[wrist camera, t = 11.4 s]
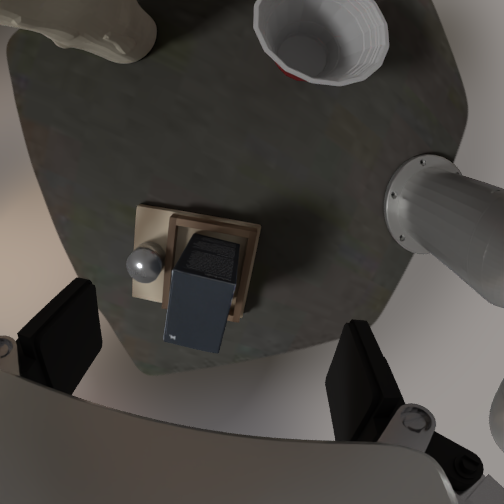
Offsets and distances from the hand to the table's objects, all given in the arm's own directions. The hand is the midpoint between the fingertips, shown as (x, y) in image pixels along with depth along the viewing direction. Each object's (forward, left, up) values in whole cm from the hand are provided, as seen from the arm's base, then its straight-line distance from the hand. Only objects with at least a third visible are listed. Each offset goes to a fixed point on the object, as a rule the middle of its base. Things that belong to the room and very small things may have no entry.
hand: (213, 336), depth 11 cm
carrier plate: (+4, +9, -26) cm, 28 cm away
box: (+2, +9, -25) cm, 27 cm away
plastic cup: (-4, -17, -26) cm, 31 cm away
